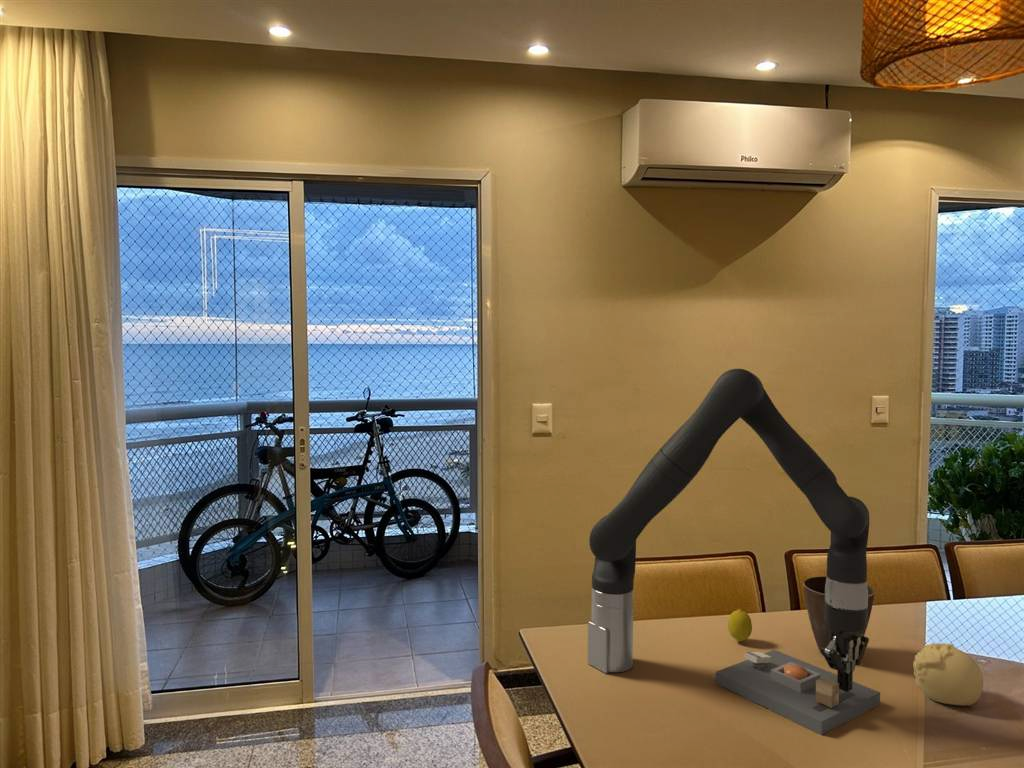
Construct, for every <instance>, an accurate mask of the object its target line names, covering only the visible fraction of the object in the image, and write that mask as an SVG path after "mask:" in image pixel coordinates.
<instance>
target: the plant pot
mask: <svg viewBox="0 0 1024 768" xmlns="http://www.w3.org/2000/svg"><path fill="white" fill-rule="evenodd" d="M826 578H827V575H826V576H813V577H809V578H805V579H804V581H803V582H802V585H803V592H804V593H803V594H804V599H805V604H806V611H807V615H808V618H809V619H808V620H809V624H810V626H811V630H812V633H813V636H814V640H815V643H816V645H817V648H818V652H819V653H820V654H821V655H822V656H823V654H822V652H821V648H822V647H823V646H824V647H827V646H828V644H829V643H830V641H829V635H830V630H831V629H830V627H829V626H828V625H827V624H826V622H825V584H826ZM867 588H868V623H870V622H869V621H870V618H871V615H872V609H873V604H874V599H875V593H876V592H875V590H874V588H873V587H872V586H870V585H868V584H867ZM867 629H868V627H867V628H866V629H865V630H864V631H862V635H863V636H866V631H867Z"/></svg>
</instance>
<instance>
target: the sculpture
mask: <svg viewBox="0 0 1024 768" xmlns="http://www.w3.org/2000/svg"><path fill="white" fill-rule="evenodd" d="M912 664H913V665H912V667H913V675H914V676H915V681H916V684H917V687H918V688H919V689H920V690H921V691H922V692H923V693H924V695H925V696H927V698H929V699H930V700H932V701H934V702H936V703H937V702H938V703H942V704H946V705H952V706H962V707H964V706H967V707H968V706H972V705H974V704H975V703H976V702H977V701H979V699H980V697H981V695H982V693H983V690H984V689H983V687H984V677H983V672H982V670H981V668H980V666H979V665H978V663H977V662H976V660H975V659H974V658H973V657H972V656H971V655H970V654H968V653H966V652H965V651H963V650H961V649H958V648H956V646H954V644H952V643H932V642H931V643H930V644H925V645H924V647H923V648H922V649H921V650H920V651H918V652H917V654H916V655H914V661H913V663H912Z"/></svg>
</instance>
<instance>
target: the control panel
mask: <svg viewBox="0 0 1024 768" xmlns="http://www.w3.org/2000/svg"><path fill="white" fill-rule="evenodd" d="M763 654H766V655H768V656H770V657H771V663H754V662H752V661H750V660H747V659H745V660H743V661H741V662H738V663H735V664H732V665H730V666H727V667H724V668H722V669H720V670H719V669H718V670H716V671H715V684H716V685H718V686H720V685H721V686H720V687H722V686H723V687H722V688H724V687H725V689H726V688H727V689H726V690H728V689H729V691H730V690H731V691H730V692H732V691H733V692H732V693H735V694H736V693H737V694H736V695H738V694H739V696H740V695H741V696H740V697H742V698H745V699H747V700H749V701H750V702H753V703H754V704H757V705H759V704H760V705H759V706H761V705H762V706H761V707H763V706H764V707H763V708H765V707H766V708H765V709H767V708H768V710H769V709H770V710H769V711H771V712H773V711H774V712H773V713H775V714H777V713H778V716H779V715H780V716H781V717H784V718H785V719H787V720H789V721H791V722H794V723H796V724H798V725H799V726H802V727H804V728H806V729H808V730H810V731H812V732H814V733H816V732H817V734H818V735H820V734H821V735H822V736H823V735H824V734H826V733H828V732H830V731H832V730H834V729H836V728H837V726H838V727H840V726H841V724H842V725H844V724H845V723H844V722H846V721H848V720H849V721H851V720H853V719H855V718H857V717H859V716H861V715H863V714H865V713H867V712H868V711H871V710H873V709H874V708H877V707H879V706H880V705H881V692H880V691H878V690H875V689H873V688H871V687H868V686H866V685H863V684H861V683H858V682H856V681H853V680H852V690H850V691H848V692H845V691H843V690H841V689H839V704H838V705H836V706H834V707H832V708H830V707H828V706H826V705H824V704H822V703H819V702H817V701H816V680H818V679H820V678H823V677H824V678H827V679H829V680H831V681H834V682H836V683H837V673H836V674H835V673H834V672H831V671H828V670H826V669H823V668H821V667H819V666H816V665H813V664H811V663H809V662H806V661H803V660H801V659H798V658H796V657H794V656H791V655H790V654H789V655H788V654H786V653H784V652H780V651H779V650H776V649H773V650H770V651H767V652H765V653H763ZM786 665H798V666H801V667H803V668H805V669H806V670H807V677H806V678H804V679H801V680H798V679H795V678H793V677H791V676H788V675H786V674H784V667H785V666H786ZM878 705H879V706H878ZM876 706H877V707H876ZM870 709H871V710H870ZM866 711H867V712H866ZM864 712H865V713H864ZM862 713H863V714H862ZM860 714H861V715H860ZM858 715H859V716H858ZM850 719H851V720H850ZM849 721H848V722H849ZM843 723H844V724H843ZM846 723H847V722H846ZM839 725H840V726H839ZM835 727H836V728H835ZM833 728H834V729H833ZM831 729H832V730H831ZM829 730H830V731H829ZM821 735H820V736H821Z"/></svg>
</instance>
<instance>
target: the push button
mask: <svg viewBox="0 0 1024 768" xmlns="http://www.w3.org/2000/svg"><path fill="white" fill-rule="evenodd" d="M784 674H786V675H788V676H791V677H793V678H795V679H798V680H801V679H804V678H806V677H807V670H806V669H805V668H803V667H801V666H798V665H786V666H785V667H784Z"/></svg>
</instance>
